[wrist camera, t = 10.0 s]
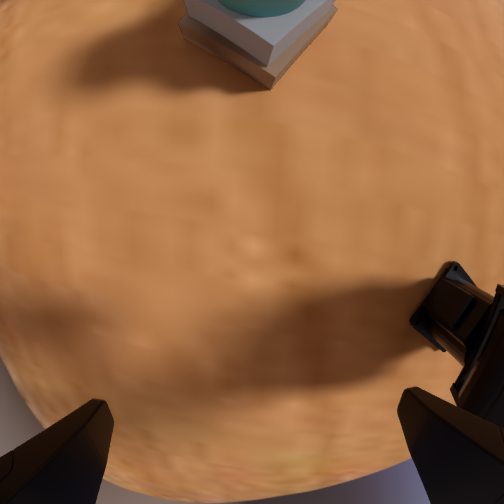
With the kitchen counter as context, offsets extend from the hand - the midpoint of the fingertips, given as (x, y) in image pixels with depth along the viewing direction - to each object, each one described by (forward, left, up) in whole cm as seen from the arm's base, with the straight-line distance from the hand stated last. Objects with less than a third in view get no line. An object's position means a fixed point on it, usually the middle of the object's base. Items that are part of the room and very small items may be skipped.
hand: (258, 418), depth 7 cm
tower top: (+9, -14, -10) cm, 20 cm away
